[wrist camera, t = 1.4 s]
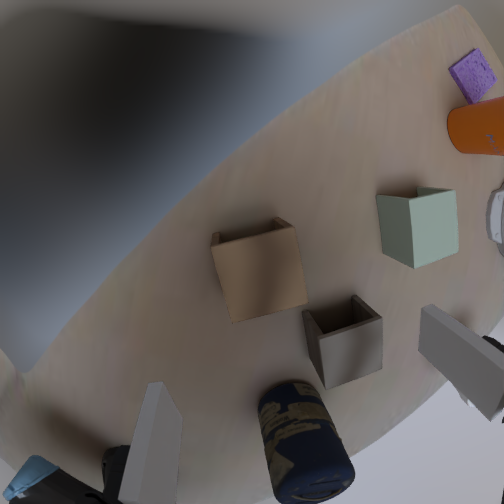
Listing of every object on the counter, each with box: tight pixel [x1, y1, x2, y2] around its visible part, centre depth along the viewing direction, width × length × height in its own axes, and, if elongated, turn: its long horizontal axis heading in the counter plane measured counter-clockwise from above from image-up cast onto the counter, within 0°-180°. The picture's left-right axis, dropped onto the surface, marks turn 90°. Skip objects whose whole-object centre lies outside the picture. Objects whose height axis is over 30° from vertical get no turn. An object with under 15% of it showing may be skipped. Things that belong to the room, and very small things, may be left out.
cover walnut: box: [211, 217, 309, 323], centre depth 29 cm, size 8×8×7 cm
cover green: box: [376, 187, 458, 269], centre depth 30 cm, size 8×8×7 cm
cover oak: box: [302, 295, 383, 390], centre depth 33 cm, size 8×8×7 cm
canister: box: [258, 383, 355, 504], centre depth 30 cm, size 10×10×18 cm
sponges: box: [449, 48, 497, 105], centre depth 29 cm, size 7×13×2 cm, turn 130°
